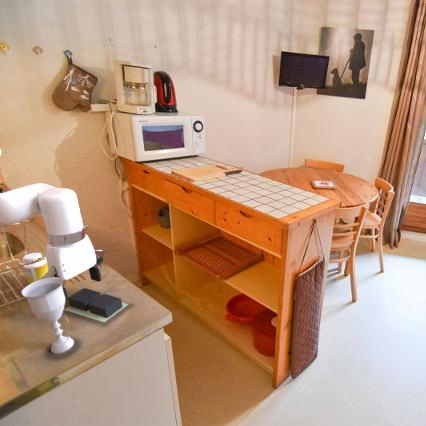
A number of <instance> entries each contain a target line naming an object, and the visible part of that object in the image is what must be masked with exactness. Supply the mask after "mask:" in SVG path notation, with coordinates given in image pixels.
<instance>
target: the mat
mask: <svg viewBox="0 0 426 426" xmlns="http://www.w3.org/2000/svg"><path fill="white" fill-rule="evenodd" d="M128 305H129V304H128V303H126V302H123V301H122V306H123V307H122V308H120V309H119V310H118V311H116V312H115V313H114V314H112V315H111V316H109V317H108V318H106V317H103V316H99V315H96V314H93V313H90V309H89V310H88V311H84V310H80V309H77V308H74V307H71V306H70V305H69V306H68V307H66V308H64V311H66V312H71V313H72V314H76V315H79V316H83V317H86V318H89V319H92V320H95V321H98V322H102V323H105V322H107V321H108V320H109V319H111V318H112V317H113V316H115V315H116V314H117V313H119V312H120V311H122V310H124V309H125V308H126V307H127V306H128Z"/></svg>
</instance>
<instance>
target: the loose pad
mask: <svg viewBox="0 0 426 426" xmlns="http://www.w3.org/2000/svg"><path fill="white" fill-rule="evenodd" d="M101 295H102V294H101V292H100V291H97V290H93V289H89V288H86V287H83V288H82V289H80V290H78V291H77V292H75V293H73V294H71V295H70V296H68V298H69V299H68V301H67V302H68V305H69V306H71V307H74V308H77V309H80V310H84V311H88V310H89V305H88V304H89V303H91V302H92V301H94V300H95V299H97V298H98V297H100V296H101Z"/></svg>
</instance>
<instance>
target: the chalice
mask: <svg viewBox="0 0 426 426" xmlns="http://www.w3.org/2000/svg"><path fill="white" fill-rule="evenodd" d="M62 284H63V280H62V279H61V278H59V277H51V278H45V279H41V280H38V281H36V282H33V283H31V284H30V285H29V284H28V285H27V286H25V287H24V288H23V289H22V290H21V295H22V296H23V297H25V298H26V299H27V302H28V305H29V308H30V311H31V312H32V314H34V315H35V316H36V317H37V318H39V319H40V320H42V321H44V322H46V323H52V326H51V329H53V330H54V332H53V335H54V336H56V339H55V340H53V341H52V343H51V346H50V352H51V353H53V354H61V353H64V352H66V351H68V350H70V349H71V348H72V347H73V345H74V344H75V341H74V339H73V338H71V337H70V336H67V335H63V332H64V330H63V329H61V323H59V322H58V320H59V319H61V318H62V315H63V312H64V310H65V304H66V301H65V295H64V292H63V289H62Z"/></svg>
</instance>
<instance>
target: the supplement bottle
mask: <svg viewBox="0 0 426 426" xmlns="http://www.w3.org/2000/svg"><path fill="white" fill-rule="evenodd" d="M41 257H42V258H43V256H42V253H41V252H31V253H28V254H26V255H24V256H23V261H24V262H23V263H22V265H24V264H26V263H30V262H32V261H35V260H37V259H38V258H41ZM22 269H23V272H24V275H25V278H26V281H27V283H28V285H30V284H31V283H33V282H36V281H38V280H40V279H41V278H42V277H43V276H44V275H45V274H46V273H47V272H48V271H49V270H48V265H47V258H45V259H44V260H41V261H39V262H36V263H33V264H29V265H24V266H22Z"/></svg>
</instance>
